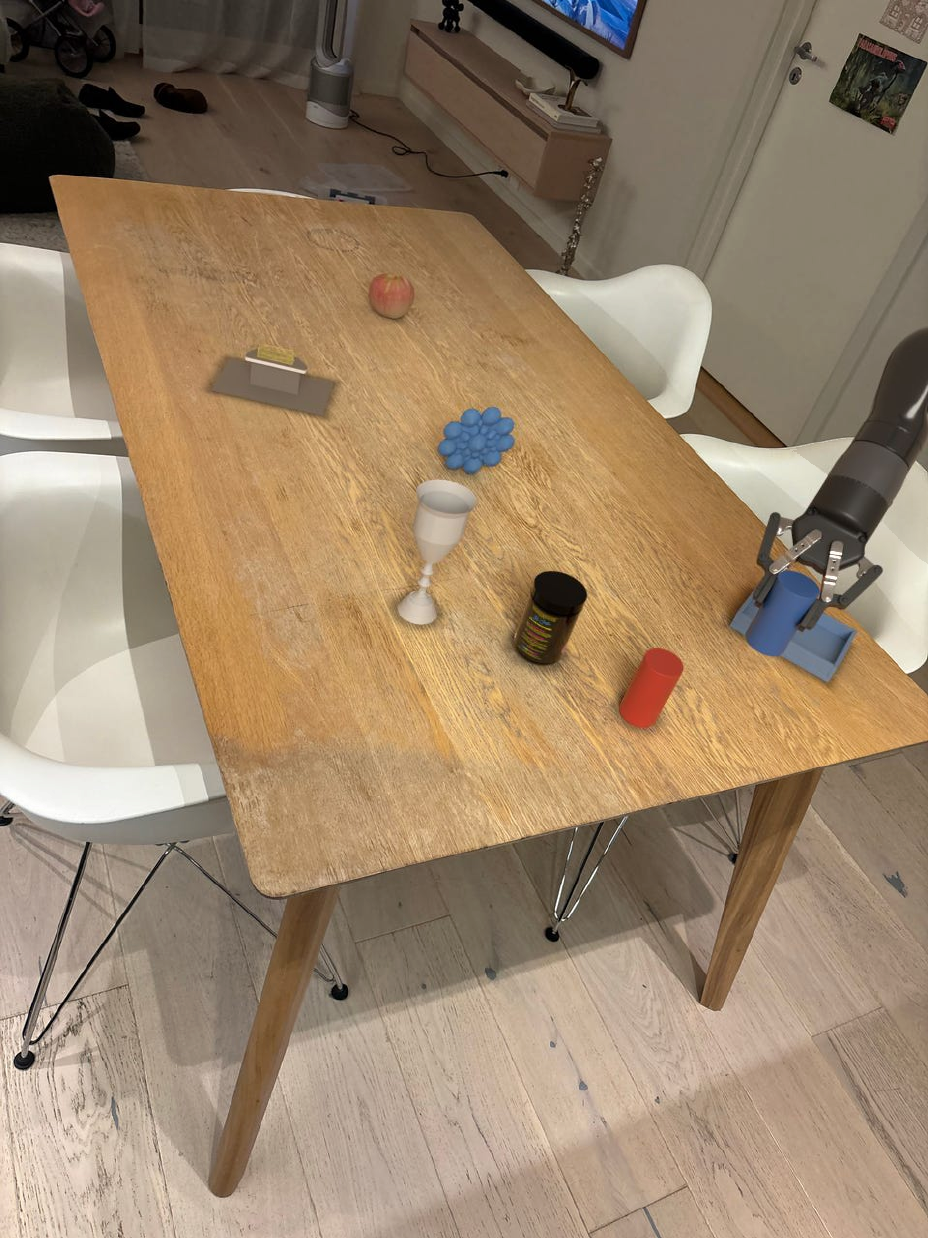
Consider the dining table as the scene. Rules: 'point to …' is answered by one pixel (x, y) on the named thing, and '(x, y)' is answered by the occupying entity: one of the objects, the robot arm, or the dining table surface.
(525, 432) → the dining table surface
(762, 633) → the blue pin
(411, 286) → the apple
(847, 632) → the blue tray
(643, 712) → the red pin
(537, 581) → the supplement container
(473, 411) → the blue bubble cluster
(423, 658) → the dining table surface
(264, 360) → the platform
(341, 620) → the dining table surface
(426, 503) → the chalice
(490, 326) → the dining table surface
